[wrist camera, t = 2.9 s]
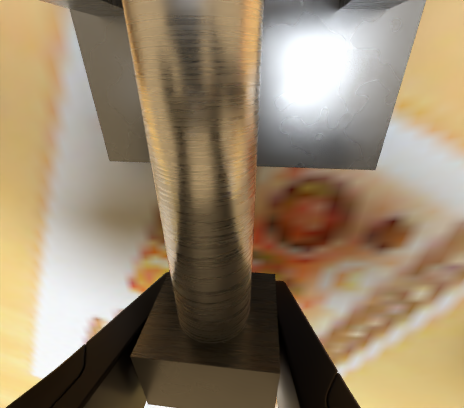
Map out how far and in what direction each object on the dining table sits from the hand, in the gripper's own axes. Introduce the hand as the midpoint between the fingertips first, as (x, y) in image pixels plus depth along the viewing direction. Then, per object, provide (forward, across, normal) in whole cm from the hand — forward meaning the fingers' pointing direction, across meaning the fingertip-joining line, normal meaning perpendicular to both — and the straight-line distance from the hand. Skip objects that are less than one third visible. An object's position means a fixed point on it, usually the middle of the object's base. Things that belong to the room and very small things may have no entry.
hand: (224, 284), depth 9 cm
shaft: (0, 0, -9) cm, 9 cm away
